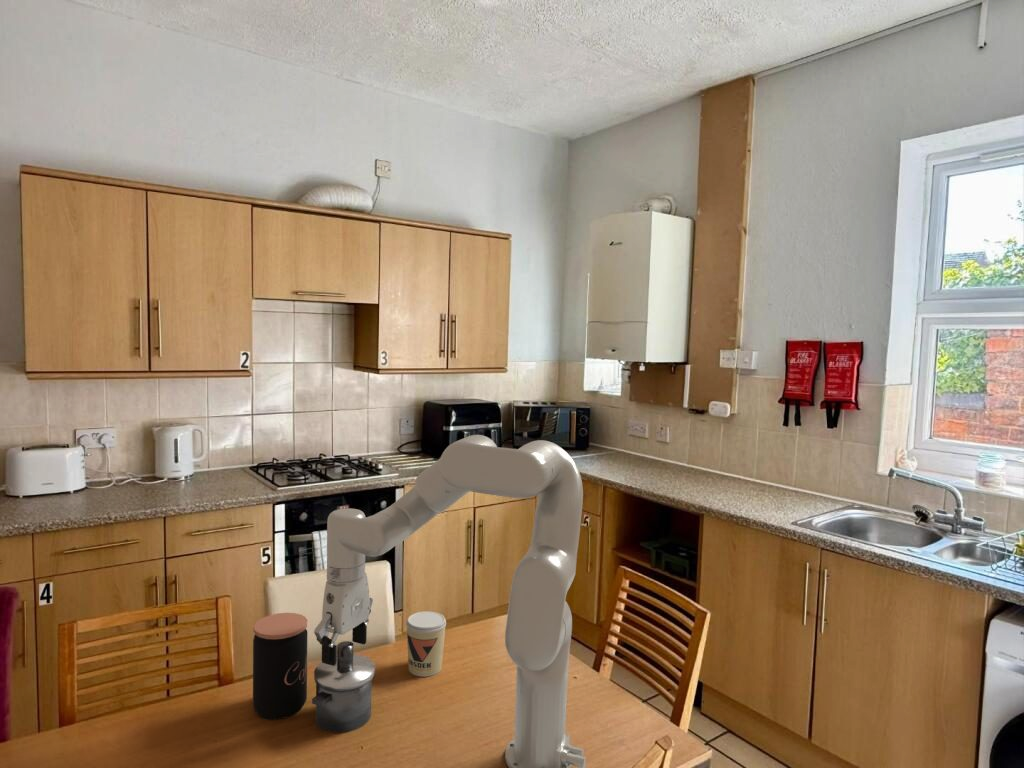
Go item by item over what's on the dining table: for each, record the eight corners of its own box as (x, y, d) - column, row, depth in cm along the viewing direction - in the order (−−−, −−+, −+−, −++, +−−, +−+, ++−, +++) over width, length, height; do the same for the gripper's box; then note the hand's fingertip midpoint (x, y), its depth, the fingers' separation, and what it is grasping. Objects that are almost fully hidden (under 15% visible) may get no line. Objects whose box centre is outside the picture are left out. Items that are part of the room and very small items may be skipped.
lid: (386, 667, 134) (387, 639, 133) (350, 696, 123) (350, 665, 122) (340, 654, 139) (340, 626, 138) (301, 681, 128) (301, 651, 127)
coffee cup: (398, 674, 148) (399, 624, 148) (415, 655, 157) (416, 608, 157) (435, 681, 146) (436, 630, 145) (451, 662, 155) (452, 614, 154)
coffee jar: (289, 725, 128) (290, 638, 127) (241, 717, 130) (242, 631, 129) (316, 696, 138) (317, 615, 137) (271, 689, 140) (272, 609, 139)
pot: (390, 702, 137) (391, 662, 136) (340, 747, 122) (341, 701, 121) (346, 689, 141) (346, 650, 141) (293, 730, 126) (293, 686, 125)
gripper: (333, 589, 120) (331, 677, 121) (386, 561, 136) (384, 639, 137) (301, 582, 123) (300, 668, 124) (357, 555, 139) (355, 631, 140)
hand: (344, 652), depth 131 cm, fingers open, 9 cm apart
